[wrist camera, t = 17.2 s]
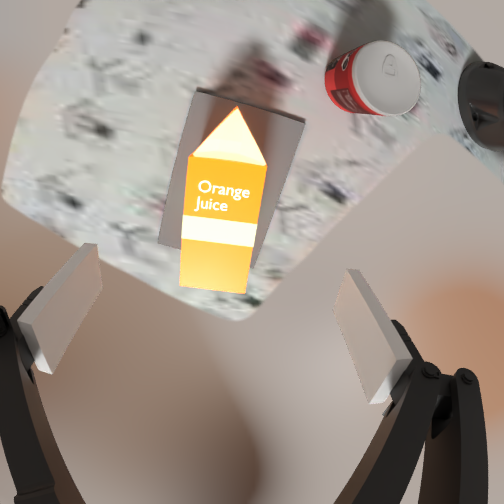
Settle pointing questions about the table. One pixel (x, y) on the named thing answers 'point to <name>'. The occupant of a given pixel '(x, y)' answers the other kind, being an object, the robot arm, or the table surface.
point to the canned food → (374, 80)
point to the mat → (268, 141)
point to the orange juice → (222, 208)
